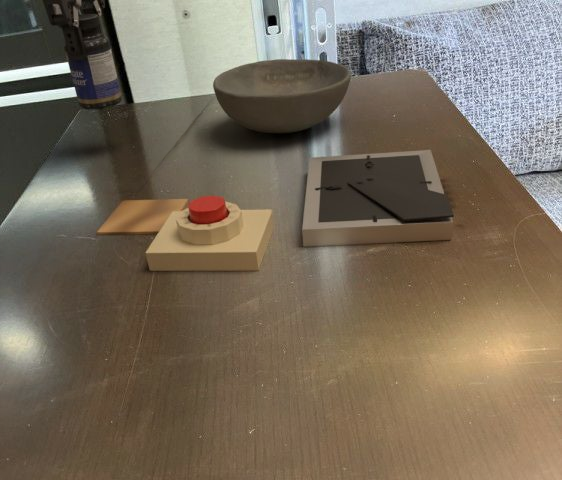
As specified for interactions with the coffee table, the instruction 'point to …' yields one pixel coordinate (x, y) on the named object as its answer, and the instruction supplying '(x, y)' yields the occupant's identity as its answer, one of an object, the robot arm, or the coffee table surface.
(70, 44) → the robot arm
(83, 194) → the coffee table surface
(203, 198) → the button
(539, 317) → the coffee table surface
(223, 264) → the desk block
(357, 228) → the picture frame
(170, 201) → the coaster
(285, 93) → the bowl
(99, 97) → the pill bottle
